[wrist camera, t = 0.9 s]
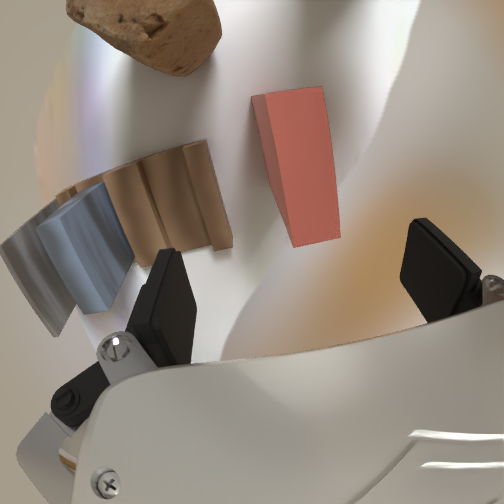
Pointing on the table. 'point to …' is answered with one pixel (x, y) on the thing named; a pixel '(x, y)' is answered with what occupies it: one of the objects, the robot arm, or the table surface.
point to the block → (154, 30)
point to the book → (300, 162)
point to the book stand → (115, 231)
